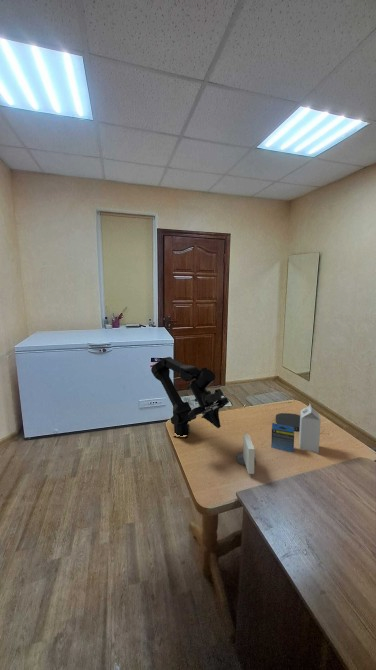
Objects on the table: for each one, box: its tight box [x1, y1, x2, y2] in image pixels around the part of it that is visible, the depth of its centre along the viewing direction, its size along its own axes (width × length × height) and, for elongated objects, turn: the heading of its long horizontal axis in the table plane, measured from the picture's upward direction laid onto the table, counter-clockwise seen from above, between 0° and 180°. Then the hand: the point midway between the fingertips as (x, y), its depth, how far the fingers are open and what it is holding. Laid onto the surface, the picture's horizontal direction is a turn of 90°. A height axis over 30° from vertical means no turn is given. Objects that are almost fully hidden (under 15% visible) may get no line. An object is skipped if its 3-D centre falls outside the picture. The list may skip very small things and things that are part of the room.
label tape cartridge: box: [270, 422, 295, 453], centre depth 112 cm, size 9×4×12 cm, turn 65°
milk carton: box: [298, 404, 321, 455], centre depth 112 cm, size 7×7×19 cm
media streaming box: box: [275, 412, 300, 432], centre depth 136 cm, size 15×15×3 cm
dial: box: [236, 433, 256, 475], centre depth 101 cm, size 14×7×11 cm, turn 179°
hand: (219, 427), depth 106 cm, fingers closed
